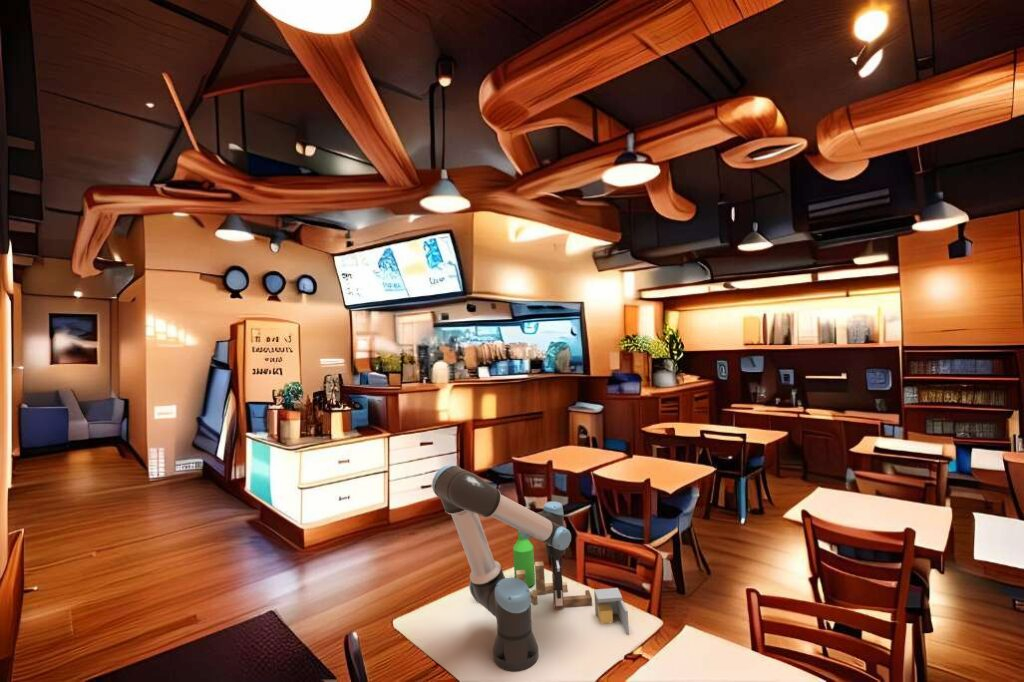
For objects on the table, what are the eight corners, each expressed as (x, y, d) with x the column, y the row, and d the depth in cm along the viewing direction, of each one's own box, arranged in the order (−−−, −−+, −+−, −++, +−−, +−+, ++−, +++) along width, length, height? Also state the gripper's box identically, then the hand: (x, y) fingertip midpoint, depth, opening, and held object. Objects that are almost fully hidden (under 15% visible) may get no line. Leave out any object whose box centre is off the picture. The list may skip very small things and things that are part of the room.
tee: (518, 605, 188) (516, 575, 188) (517, 598, 193) (516, 569, 193) (537, 604, 189) (536, 574, 189) (536, 597, 194) (535, 568, 194)
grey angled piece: (603, 636, 166) (602, 609, 166) (595, 614, 180) (594, 589, 180) (628, 634, 167) (627, 607, 167) (619, 612, 180) (617, 587, 180)
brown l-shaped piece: (554, 609, 185) (553, 578, 185) (552, 600, 191) (551, 570, 191) (592, 606, 185) (590, 575, 185) (589, 597, 191) (587, 567, 191)
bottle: (511, 586, 203) (508, 528, 203) (520, 577, 211) (517, 520, 211) (530, 590, 199) (526, 531, 199) (538, 580, 207) (535, 523, 207)
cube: (600, 623, 174) (600, 611, 174) (598, 616, 178) (597, 604, 178) (613, 622, 174) (612, 610, 174) (610, 615, 179) (609, 603, 178)
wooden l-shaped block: (536, 595, 195) (535, 566, 195) (536, 590, 199) (534, 562, 199) (567, 592, 196) (566, 563, 196) (566, 588, 199) (564, 559, 199)
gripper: (568, 551, 178) (571, 613, 178) (561, 533, 195) (564, 590, 195) (548, 552, 178) (551, 615, 178) (543, 534, 194) (546, 591, 195)
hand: (558, 602), depth 186 cm, fingers closed on brown l-shaped piece, 3 cm apart
